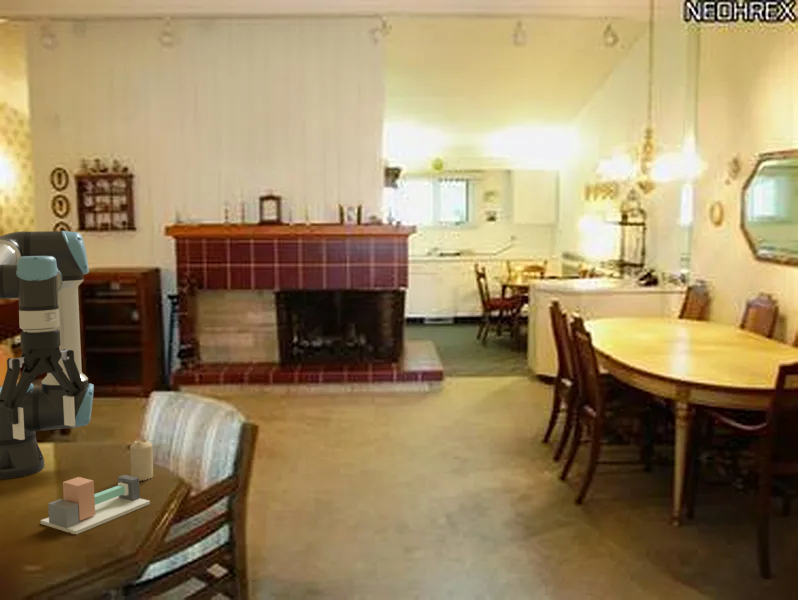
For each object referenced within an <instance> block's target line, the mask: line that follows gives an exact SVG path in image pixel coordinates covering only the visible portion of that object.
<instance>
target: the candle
mask: <svg viewBox="0 0 798 600" xmlns="http://www.w3.org/2000/svg"><path fill="white" fill-rule="evenodd" d="M129 456H130V457H129V458H130V476H133V477H137V478H139V482H140V481H141V482H143V481H147V479H148V480H150V478H151V479H152V478H153V477H154V460H153V444H152V443H151V442H150V441H149V440H147V439H145V438H142V439H141V438H140V439H138V440H134V441H133V443H131V445H130V446H129ZM142 480H143V481H142Z"/></svg>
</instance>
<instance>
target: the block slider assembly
mask: <svg viewBox="0 0 798 600" xmlns="http://www.w3.org/2000/svg"><path fill="white" fill-rule="evenodd" d="M140 490H141V489H140V481H139V478H137V477H133V476H131V475H128V474H123V475H120V476H117V485H115V486H112V487H110V488H107V489H105V490H102V491H100V492H96V493H94V496H95V515H94V516H91V517H89V518H86V519H83V520H81V521H79V514H78V504H76V503H74V502H69V501H66V500H64V499H61V498H59V499H57V500H54V501H51V502H48V503H47V506H48V508H47V509H48V517H46V518H42V519H40V525H44V526H47V527H50V528H53V529H55V530H60V531H63V532H66V533H69V532H70V533H69V534H73V535H75V534H76V535H79V534H81V533H84V532H86V531H88V530H91V529H93V528H96V527H98V526H101V525H103V524H105V523H108V522H111V521H113V520H115V519H118V518H119V517H122V516H125V515H127V514H129V513H132V512H134V511H137V510H140V509H141V508H144V507H146V506H149V505H150V504H151V500H148V499H144V498H141V496H140V495H141V494H140V493H141V491H140Z"/></svg>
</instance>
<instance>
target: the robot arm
mask: <svg viewBox="0 0 798 600" xmlns="http://www.w3.org/2000/svg"><path fill="white" fill-rule="evenodd" d="M84 241H85V240H84V238H83V236H82V234H81V233H80V232H77V231H69V230H60V231H57V230H55V231H53V230H52V231H44V230H43V231H27V230H26V231H15V232H11V233H10V232H9V233H7V234H2V235H0V300H3V299H4V300H6V299H9V300H10V299H11V300H12V299H14V300H15V299H18V315H19V316H18V318H19V320H18V321H19V329H21V330H22V331H21V332H20V333H19V335H20V337H19V338H20V340H19V341H20V348H21V352H22V354H21V356H20V357H15V358H14V357H9V358H7V360H6V373H5V377H4V380H3V383H2V386H0V480H10V479H16V478H23V477H25V476H30V475H34V474H35V473H38V472H40V471H42V470H43V469H44V468H45V457H44V456H43V452H42V451H41V449H40V446H39V443H38V442H37V436H36V432H37V431H49V430H50V431H51V430H60V429H62V430H63V429H73V428H81V427H85V426H88V425H89V423H90V422H91V419H92V412H93V411H92V409H93V402H94V400H93V399H94V390H95V389H94V388H95V385H94V383H93V384H92V383H89V378H88V377H87V375H86V374H84V373H83V371H82V370H83V369H82V367H83V366H82V349H81V348H82V347H81V328H80V310H79V309H80V305H79V286H80V285H81V284H82V283H83V282H84V280H85V279H84V275H87V274H89V272H90V269H89V262H88V261H89V260H88V255H87V250H86V246H85V242H84ZM23 366H24V367H23ZM21 368H23V369H22V371H21ZM46 373H47V374H46ZM43 374H46V376H45V377H44V378H43V379H42V380H41V387H35V386H34V383H32V382H33V381H34V379H36V377H38V376H40V375H43ZM19 376H20V378H19Z"/></svg>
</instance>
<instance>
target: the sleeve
mask: <svg viewBox="0 0 798 600" xmlns="http://www.w3.org/2000/svg"><path fill="white" fill-rule="evenodd" d="M62 488H63V489H62V490H63V492H62V493H63V500H66V501H69V502H74V503H76V504H78V514H79V521H81V520H83V519H86V518H89V517H91V516H94V515H95V496H94V494H95V480H93V479H90V478H84V477H81V476H77V477H73V478H71V479H68V480H65V481H63V482H62Z"/></svg>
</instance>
